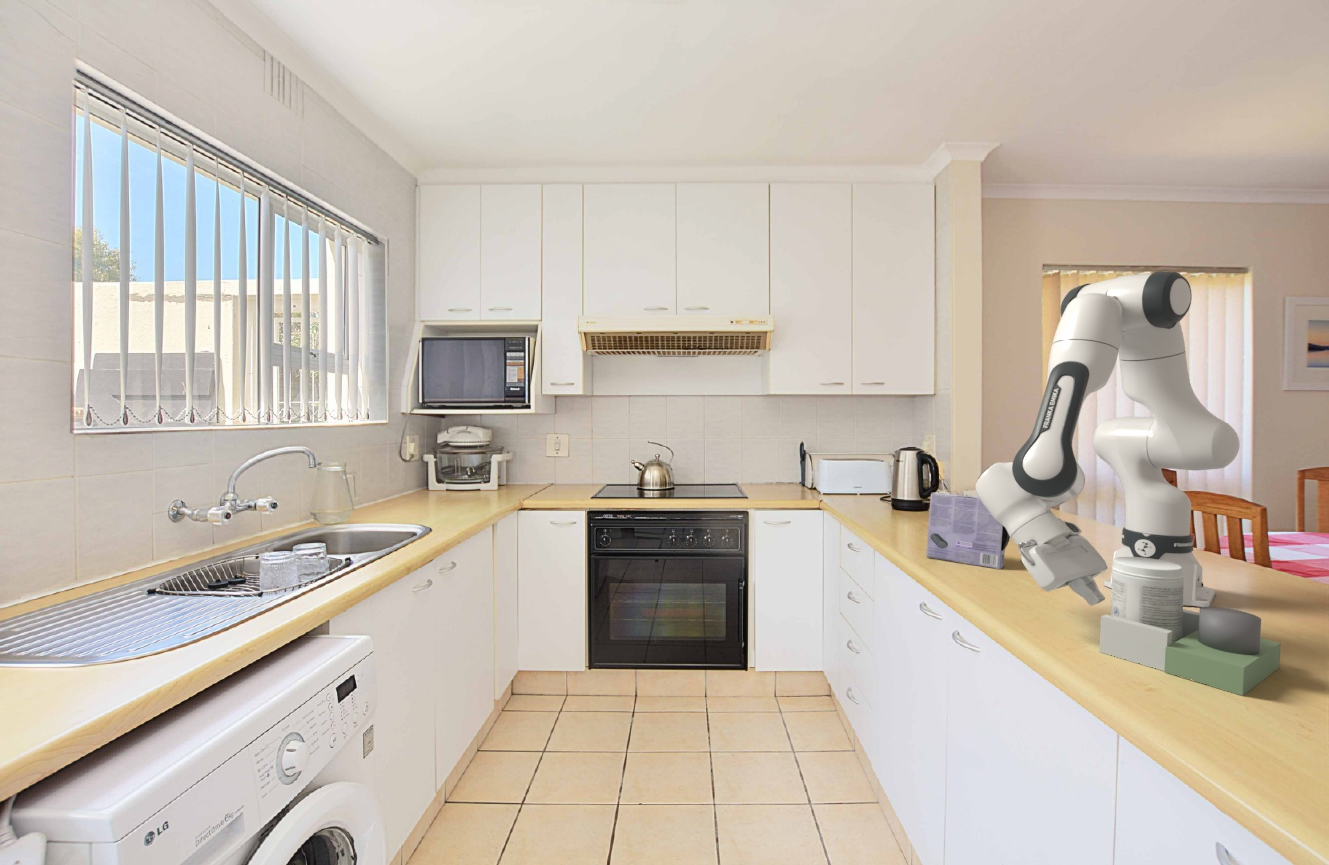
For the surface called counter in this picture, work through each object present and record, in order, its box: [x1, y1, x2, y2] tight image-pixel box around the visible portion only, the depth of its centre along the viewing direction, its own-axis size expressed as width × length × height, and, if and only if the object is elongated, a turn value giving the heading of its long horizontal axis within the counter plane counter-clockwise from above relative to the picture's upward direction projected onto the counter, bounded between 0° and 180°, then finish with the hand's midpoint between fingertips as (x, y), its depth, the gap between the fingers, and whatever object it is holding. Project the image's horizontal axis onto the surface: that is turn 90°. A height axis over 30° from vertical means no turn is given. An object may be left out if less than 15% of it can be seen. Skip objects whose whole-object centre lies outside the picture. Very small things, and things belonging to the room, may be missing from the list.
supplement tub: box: [1110, 557, 1184, 643], centre depth 104 cm, size 10×10×15 cm
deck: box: [1098, 606, 1282, 697], centre depth 100 cm, size 18×18×9 cm
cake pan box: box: [925, 491, 1011, 570], centre depth 162 cm, size 19×5×18 cm, turn 51°
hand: (1098, 602), depth 110 cm, fingers closed
